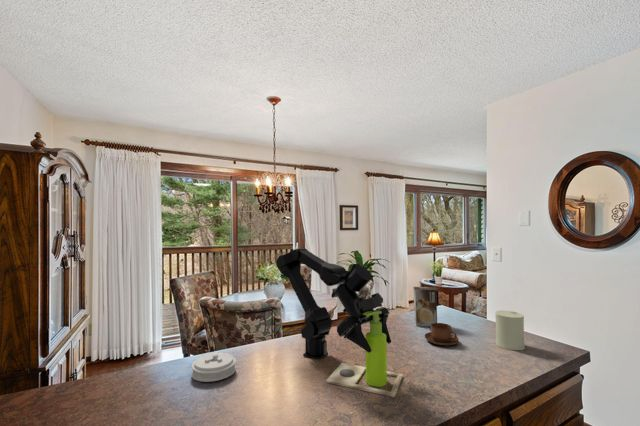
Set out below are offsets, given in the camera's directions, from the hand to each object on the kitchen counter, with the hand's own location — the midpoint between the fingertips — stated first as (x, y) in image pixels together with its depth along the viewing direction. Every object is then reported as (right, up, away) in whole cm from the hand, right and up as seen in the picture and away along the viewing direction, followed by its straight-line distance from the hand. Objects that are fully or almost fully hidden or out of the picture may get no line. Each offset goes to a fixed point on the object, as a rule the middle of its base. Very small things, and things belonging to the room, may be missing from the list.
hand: (380, 347), depth 90 cm
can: (+53, -11, +27) cm, 60 cm away
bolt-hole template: (-4, -10, +2) cm, 11 cm away
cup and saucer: (+29, -11, +31) cm, 44 cm away
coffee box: (+30, -12, +52) cm, 61 cm away
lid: (-49, -11, +6) cm, 51 cm away
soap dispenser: (-2, -10, 0) cm, 10 cm away
